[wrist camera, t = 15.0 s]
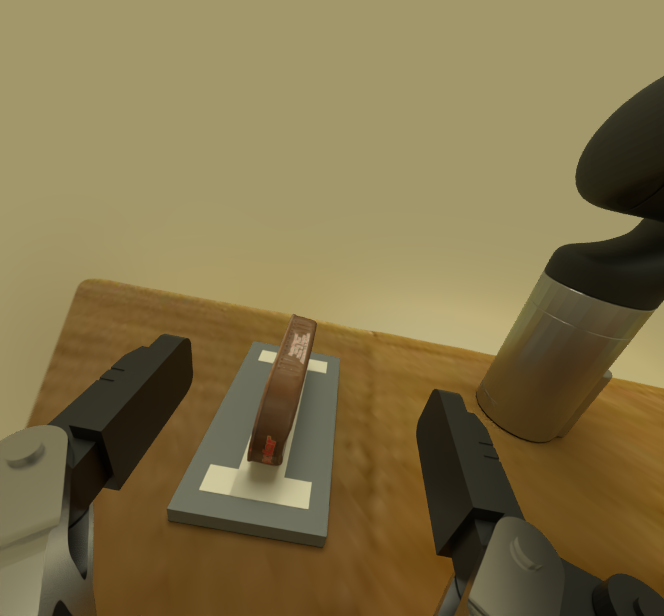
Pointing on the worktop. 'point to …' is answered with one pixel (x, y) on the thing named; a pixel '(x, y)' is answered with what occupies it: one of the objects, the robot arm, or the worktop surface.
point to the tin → (282, 393)
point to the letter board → (261, 479)
